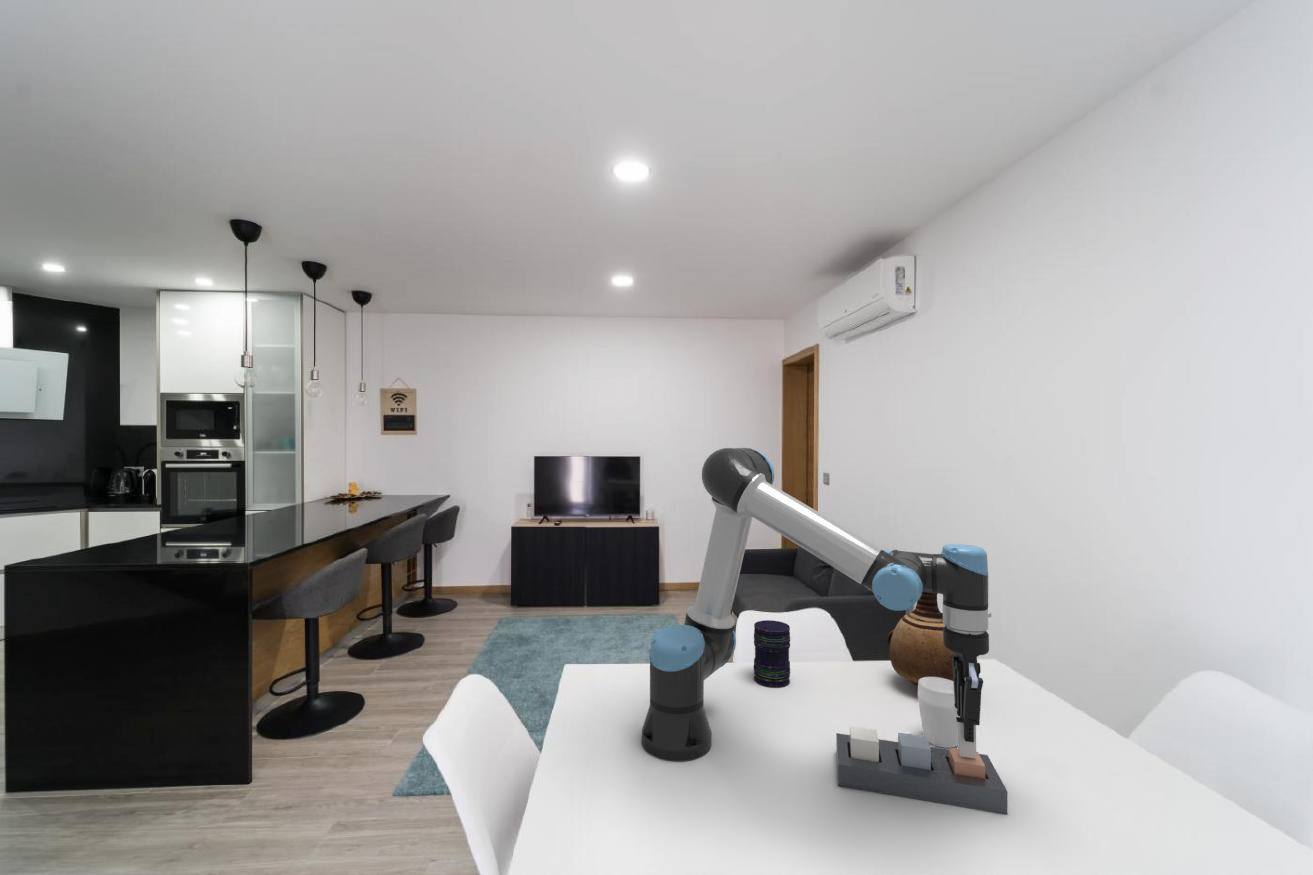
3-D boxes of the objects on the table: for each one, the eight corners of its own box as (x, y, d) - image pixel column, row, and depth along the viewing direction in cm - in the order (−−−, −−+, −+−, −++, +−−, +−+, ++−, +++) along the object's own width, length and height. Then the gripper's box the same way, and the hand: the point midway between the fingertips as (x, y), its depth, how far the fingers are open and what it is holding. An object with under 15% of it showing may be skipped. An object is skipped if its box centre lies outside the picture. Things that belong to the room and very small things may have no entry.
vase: (871, 678, 153) (871, 569, 154) (924, 670, 159) (923, 566, 159) (931, 713, 133) (930, 588, 134) (989, 703, 138) (988, 583, 139)
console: (838, 785, 104) (838, 764, 104) (836, 752, 115) (836, 733, 115) (1007, 814, 96) (1007, 791, 96) (987, 775, 107) (987, 755, 107)
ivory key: (851, 764, 106) (851, 738, 107) (849, 750, 111) (849, 725, 111) (878, 768, 105) (878, 742, 105) (876, 754, 110) (876, 729, 110)
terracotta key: (954, 789, 101) (954, 761, 101) (948, 773, 106) (948, 747, 106) (985, 794, 100) (985, 766, 100) (977, 778, 105) (977, 751, 105)
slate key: (901, 772, 104) (901, 745, 104) (898, 758, 109) (898, 732, 109) (930, 776, 103) (930, 749, 103) (925, 762, 107) (925, 736, 107)
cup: (970, 753, 115) (970, 695, 116) (924, 748, 117) (923, 691, 117) (956, 732, 124) (955, 678, 124) (913, 727, 126) (912, 674, 126)
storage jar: (769, 670, 158) (769, 618, 159) (797, 681, 151) (797, 626, 151) (746, 679, 152) (746, 624, 152) (774, 691, 145) (774, 634, 145)
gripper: (999, 641, 96) (1000, 778, 96) (978, 620, 109) (980, 741, 108) (951, 637, 99) (952, 771, 98) (936, 616, 111) (937, 735, 110)
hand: (967, 755), depth 103 cm, fingers closed
